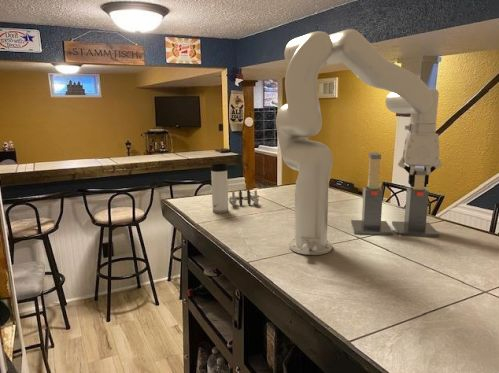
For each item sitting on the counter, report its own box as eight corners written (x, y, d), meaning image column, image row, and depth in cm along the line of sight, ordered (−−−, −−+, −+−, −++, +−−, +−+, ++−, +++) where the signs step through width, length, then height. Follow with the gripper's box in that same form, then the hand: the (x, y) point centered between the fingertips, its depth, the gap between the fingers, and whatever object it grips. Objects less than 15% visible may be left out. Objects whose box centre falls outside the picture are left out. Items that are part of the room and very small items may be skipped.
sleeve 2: (439, 237, 121) (443, 194, 118) (399, 235, 123) (402, 193, 120) (428, 225, 132) (431, 185, 129) (391, 224, 134) (394, 185, 131)
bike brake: (262, 205, 158) (256, 201, 178) (261, 189, 158) (255, 186, 177) (229, 207, 157) (226, 202, 177) (228, 191, 156) (226, 188, 176)
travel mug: (214, 214, 149) (212, 163, 145) (211, 209, 156) (209, 161, 151) (230, 212, 151) (228, 162, 147) (226, 208, 157) (225, 160, 153)
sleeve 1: (392, 235, 123) (395, 193, 120) (354, 233, 125) (356, 192, 122) (386, 223, 134) (388, 185, 131) (350, 222, 136) (352, 184, 133)
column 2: (422, 229, 124) (427, 171, 120) (411, 229, 124) (416, 170, 120) (417, 224, 130) (421, 167, 126) (407, 223, 130) (411, 167, 126)
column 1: (377, 213, 125) (381, 154, 121) (368, 213, 126) (371, 154, 122) (375, 208, 131) (378, 152, 127) (365, 208, 131) (368, 152, 127)
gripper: (397, 130, 118) (393, 188, 122) (454, 129, 115) (448, 189, 119) (392, 128, 125) (389, 183, 129) (446, 128, 122) (441, 184, 126)
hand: (417, 185), depth 124 cm, fingers closed on column 2, 3 cm apart
